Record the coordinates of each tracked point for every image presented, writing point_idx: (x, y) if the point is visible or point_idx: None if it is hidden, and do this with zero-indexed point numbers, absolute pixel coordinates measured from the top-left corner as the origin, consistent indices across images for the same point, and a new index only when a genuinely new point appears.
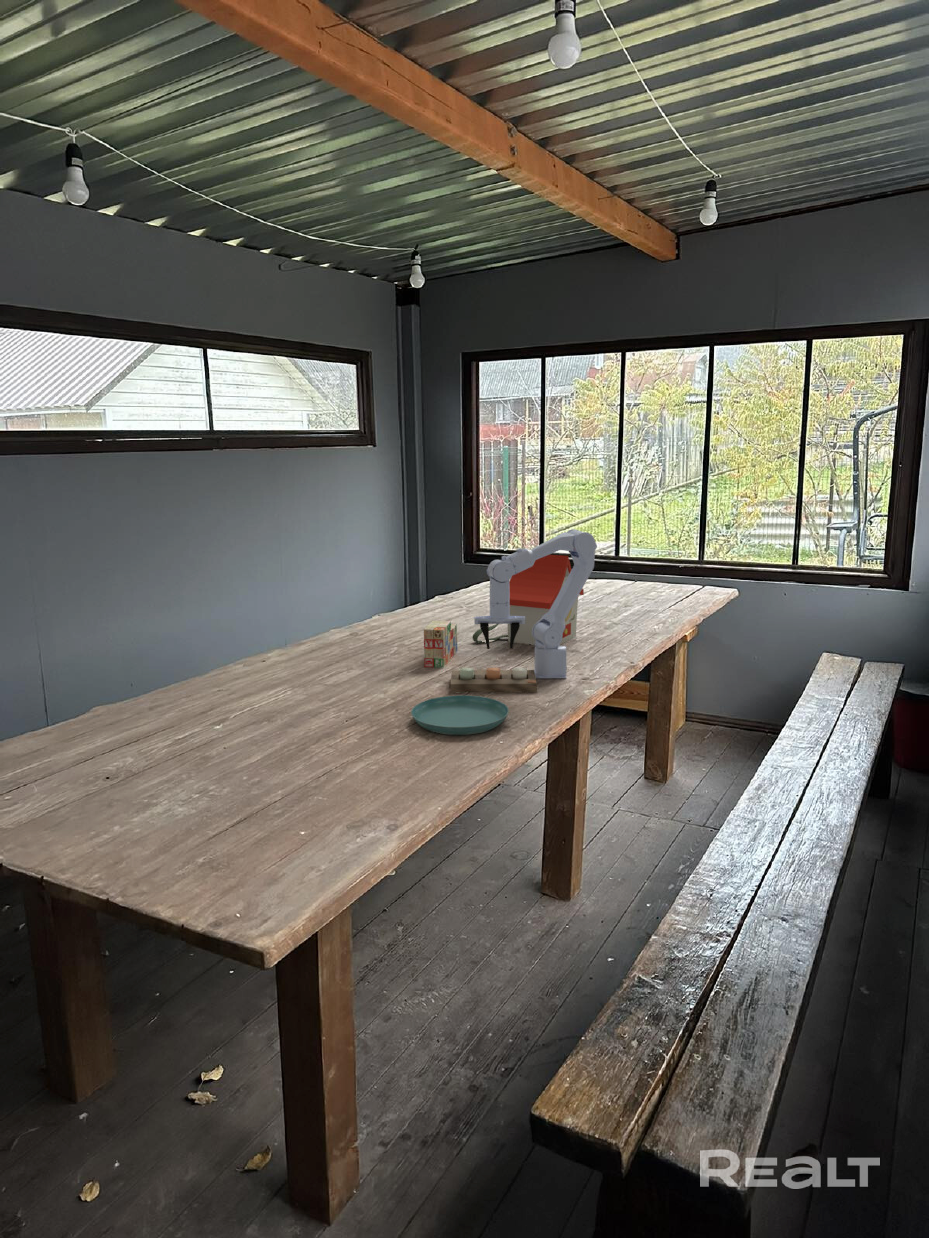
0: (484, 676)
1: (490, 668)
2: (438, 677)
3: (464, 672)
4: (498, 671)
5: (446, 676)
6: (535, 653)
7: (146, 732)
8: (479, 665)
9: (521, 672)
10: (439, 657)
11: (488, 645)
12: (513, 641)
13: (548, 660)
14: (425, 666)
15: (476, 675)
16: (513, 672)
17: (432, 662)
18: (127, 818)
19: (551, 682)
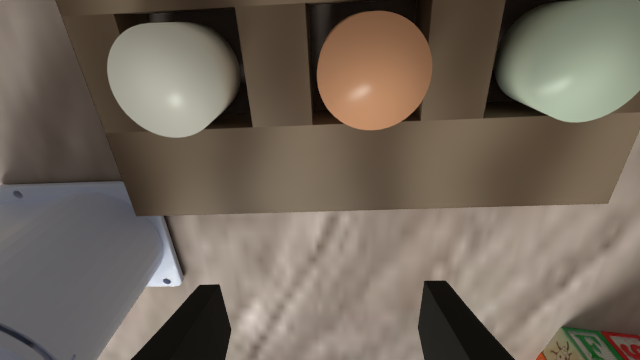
0: None
1: (395, 102)
2: (636, 201)
3: (630, 2)
4: (331, 33)
5: (588, 216)
6: (81, 311)
7: None
8: (407, 348)
9: (143, 25)
10: None
11: (448, 304)
12: (145, 345)
13: (3, 245)
14: (636, 337)
15: (479, 97)
16: (215, 56)
17: (622, 351)
18: None
19: (49, 123)
